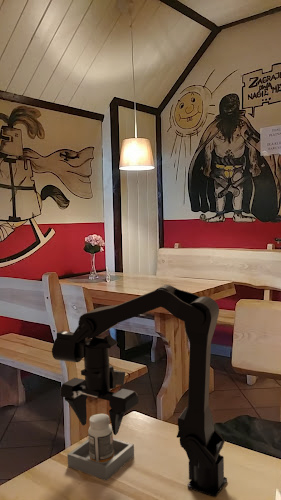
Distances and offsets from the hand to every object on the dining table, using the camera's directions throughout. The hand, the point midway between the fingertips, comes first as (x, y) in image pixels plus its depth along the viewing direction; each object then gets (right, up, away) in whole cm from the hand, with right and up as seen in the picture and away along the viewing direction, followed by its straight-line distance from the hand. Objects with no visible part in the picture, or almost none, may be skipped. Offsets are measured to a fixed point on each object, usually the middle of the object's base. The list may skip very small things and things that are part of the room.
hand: (99, 429), depth 104 cm
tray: (0, -8, +1) cm, 8 cm away
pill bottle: (0, -7, +1) cm, 7 cm away
